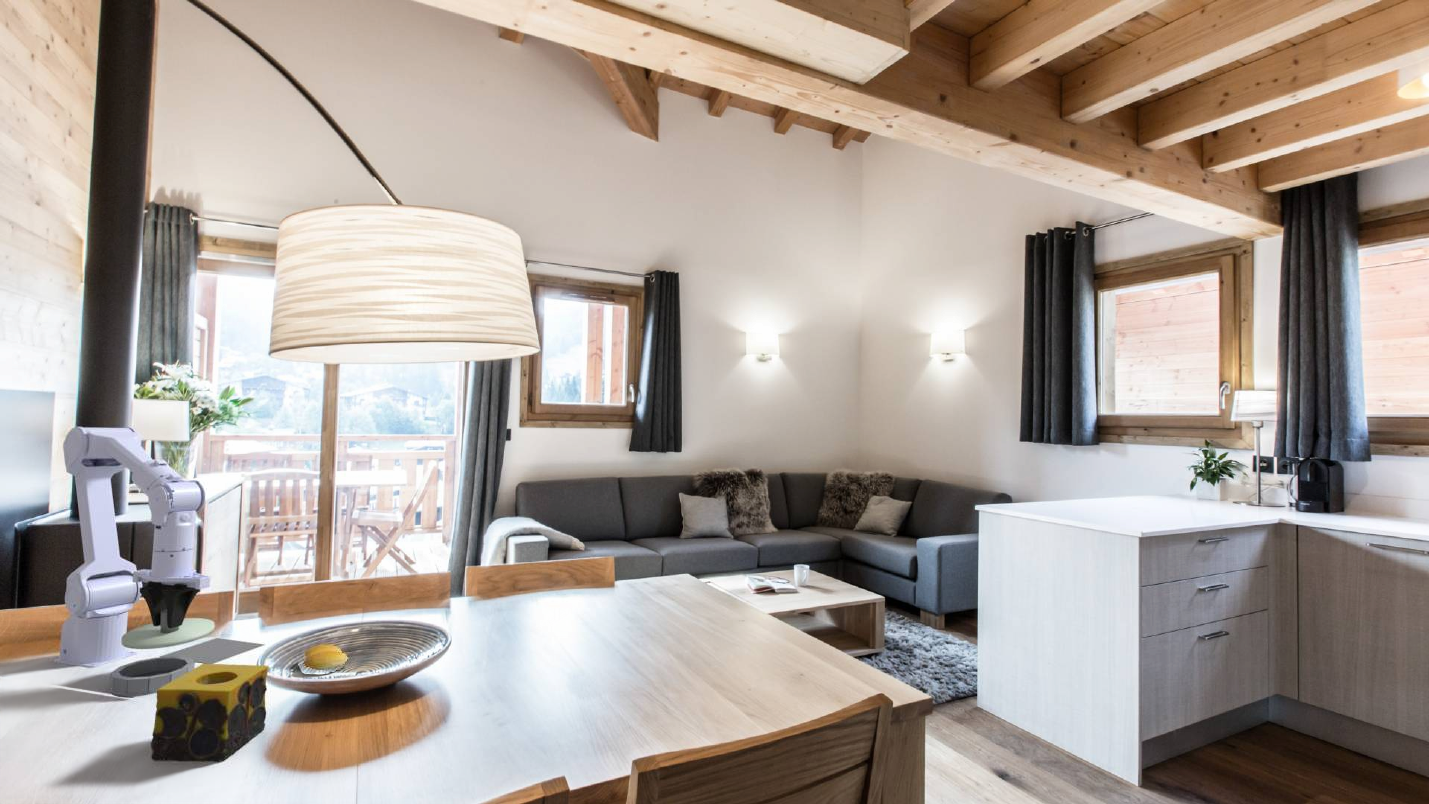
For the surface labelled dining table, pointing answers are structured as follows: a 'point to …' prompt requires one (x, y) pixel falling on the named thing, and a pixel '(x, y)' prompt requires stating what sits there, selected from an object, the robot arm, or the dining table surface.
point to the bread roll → (324, 657)
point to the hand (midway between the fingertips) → (167, 625)
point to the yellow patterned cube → (209, 712)
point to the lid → (167, 633)
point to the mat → (214, 650)
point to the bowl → (148, 675)
